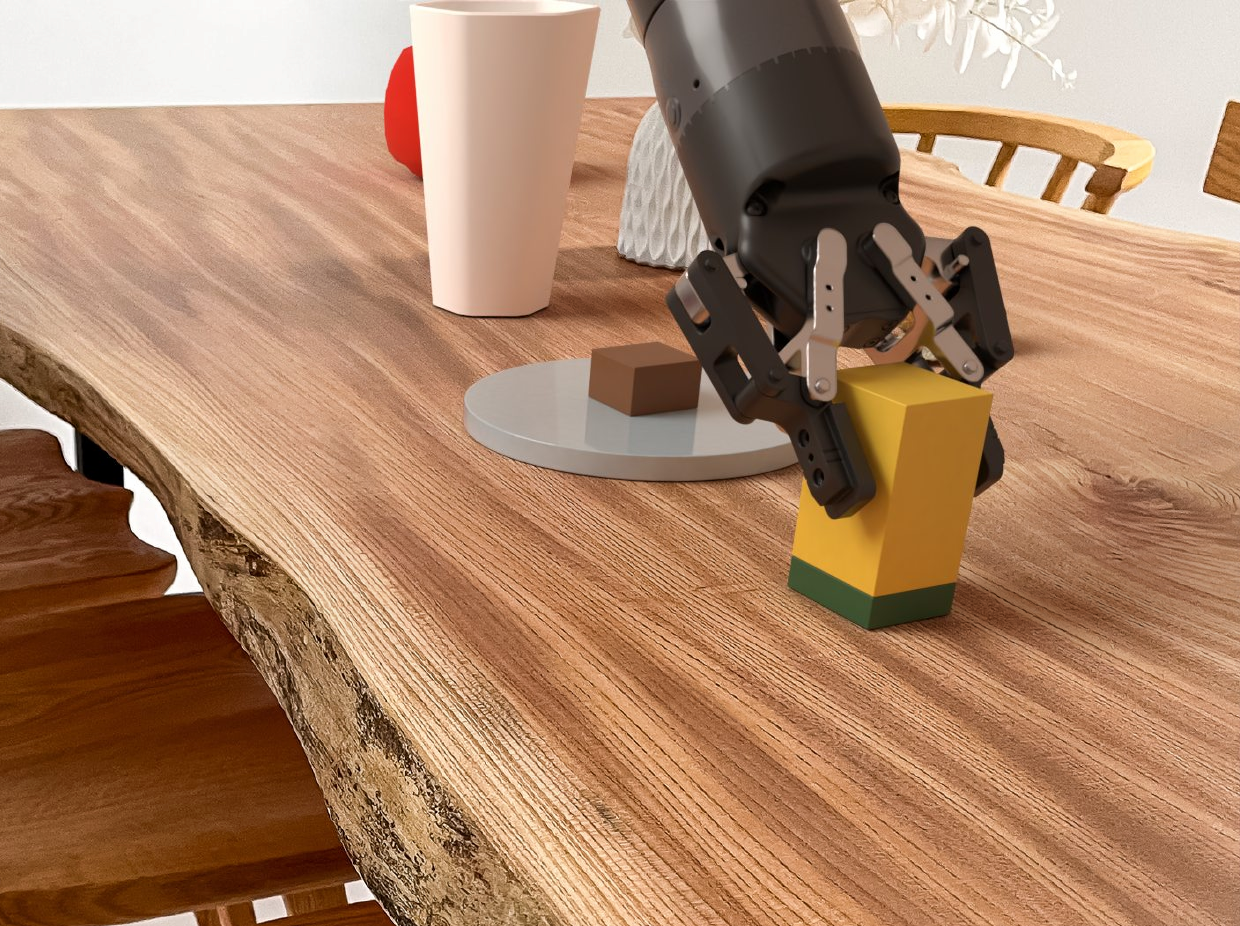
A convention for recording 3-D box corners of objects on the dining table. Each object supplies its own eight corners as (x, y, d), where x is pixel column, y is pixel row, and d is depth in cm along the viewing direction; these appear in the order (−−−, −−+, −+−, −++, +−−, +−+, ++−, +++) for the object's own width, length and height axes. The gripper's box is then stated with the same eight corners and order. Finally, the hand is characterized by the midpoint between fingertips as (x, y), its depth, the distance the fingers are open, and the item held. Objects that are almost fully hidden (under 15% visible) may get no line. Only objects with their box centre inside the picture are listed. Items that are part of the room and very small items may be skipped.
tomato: (378, 188, 149) (380, 51, 144) (386, 163, 161) (389, 35, 155) (539, 191, 148) (547, 53, 143) (537, 166, 160) (544, 37, 154)
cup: (404, 323, 108) (412, 12, 99) (400, 286, 117) (407, -3, 108) (586, 324, 108) (610, 13, 99) (569, 288, 117) (590, -1, 108)
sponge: (786, 586, 71) (818, 371, 66) (866, 571, 72) (902, 360, 68) (867, 630, 67) (906, 405, 62) (950, 614, 68) (994, 393, 64)
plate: (766, 377, 98) (769, 355, 97) (870, 479, 82) (874, 453, 82) (444, 380, 97) (444, 358, 96) (488, 484, 81) (489, 458, 81)
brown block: (654, 388, 91) (658, 341, 90) (698, 408, 88) (703, 359, 87) (587, 396, 90) (591, 348, 89) (630, 417, 87) (634, 367, 85)
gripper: (656, 45, 63) (818, 473, 59) (972, 32, 68) (1136, 425, 65) (568, 181, 69) (708, 571, 66) (861, 160, 75) (1004, 521, 71)
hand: (919, 496), depth 65 cm, fingers open, 5 cm apart
